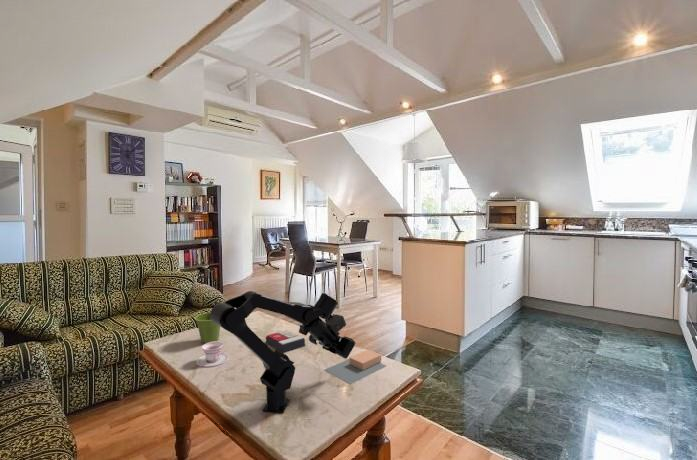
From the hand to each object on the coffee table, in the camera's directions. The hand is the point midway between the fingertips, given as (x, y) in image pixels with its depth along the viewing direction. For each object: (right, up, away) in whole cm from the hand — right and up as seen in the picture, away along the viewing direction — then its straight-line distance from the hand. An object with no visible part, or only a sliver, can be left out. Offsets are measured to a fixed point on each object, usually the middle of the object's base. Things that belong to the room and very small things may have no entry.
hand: (343, 353), depth 121 cm
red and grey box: (-26, -7, +28) cm, 39 cm away
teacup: (-51, -8, +13) cm, 53 cm away
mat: (+4, -7, +4) cm, 10 cm away
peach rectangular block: (+4, -5, +4) cm, 8 cm away
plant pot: (-60, -6, +32) cm, 69 cm away
